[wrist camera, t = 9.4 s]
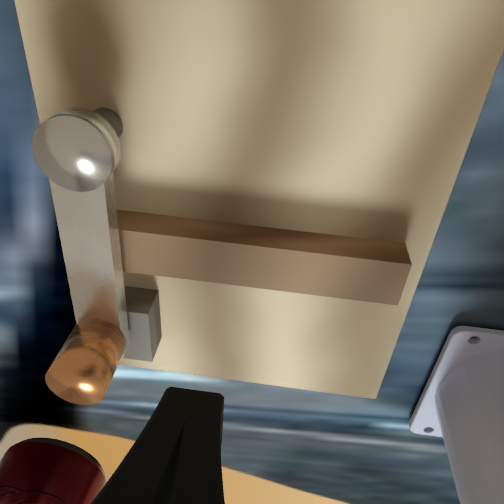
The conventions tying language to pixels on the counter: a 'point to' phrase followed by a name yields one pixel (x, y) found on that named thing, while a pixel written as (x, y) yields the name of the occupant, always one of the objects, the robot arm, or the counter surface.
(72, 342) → the bar
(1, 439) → the counter surface
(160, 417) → the robot arm
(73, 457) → the soda can
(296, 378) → the door board
